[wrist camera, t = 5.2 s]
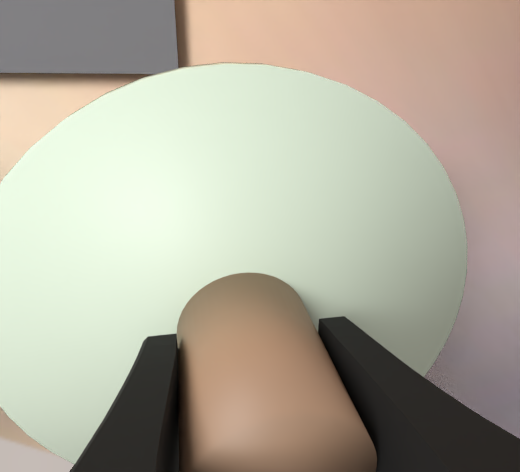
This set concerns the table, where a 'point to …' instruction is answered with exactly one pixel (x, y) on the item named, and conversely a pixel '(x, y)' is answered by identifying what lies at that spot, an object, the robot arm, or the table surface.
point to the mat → (88, 36)
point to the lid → (223, 261)
